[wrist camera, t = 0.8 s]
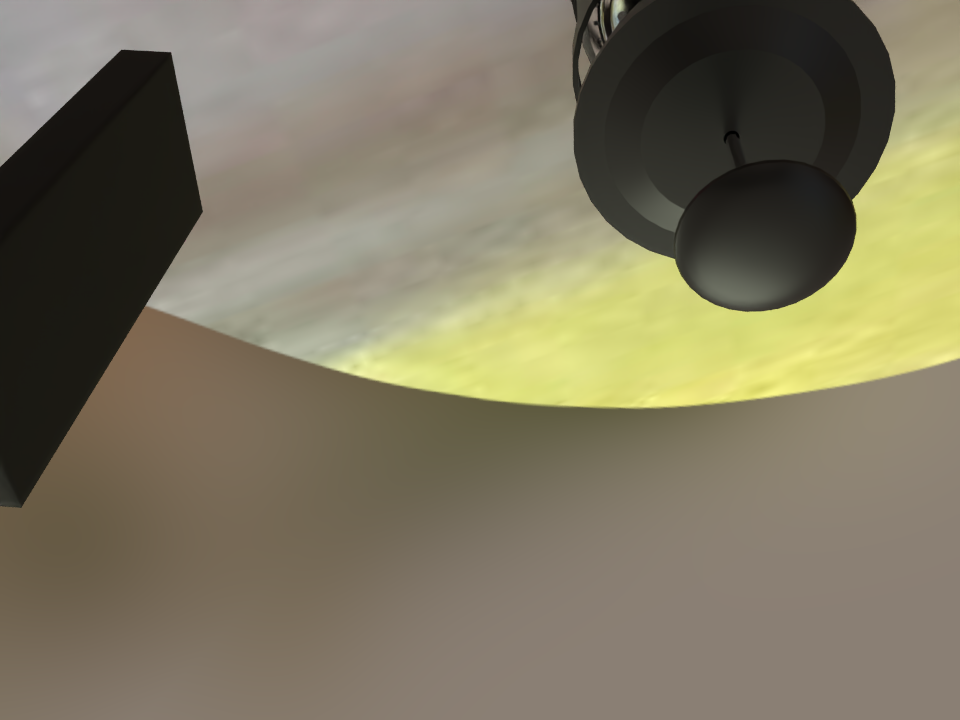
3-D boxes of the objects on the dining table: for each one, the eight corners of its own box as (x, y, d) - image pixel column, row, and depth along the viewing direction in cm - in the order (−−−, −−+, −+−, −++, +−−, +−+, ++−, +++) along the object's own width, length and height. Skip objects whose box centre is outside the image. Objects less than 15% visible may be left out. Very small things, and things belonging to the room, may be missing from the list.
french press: (643, -230, 34) (724, -64, 17) (846, -117, 36) (1110, 139, 19) (513, 45, 42) (474, 364, 24) (688, 127, 43) (772, 478, 26)
